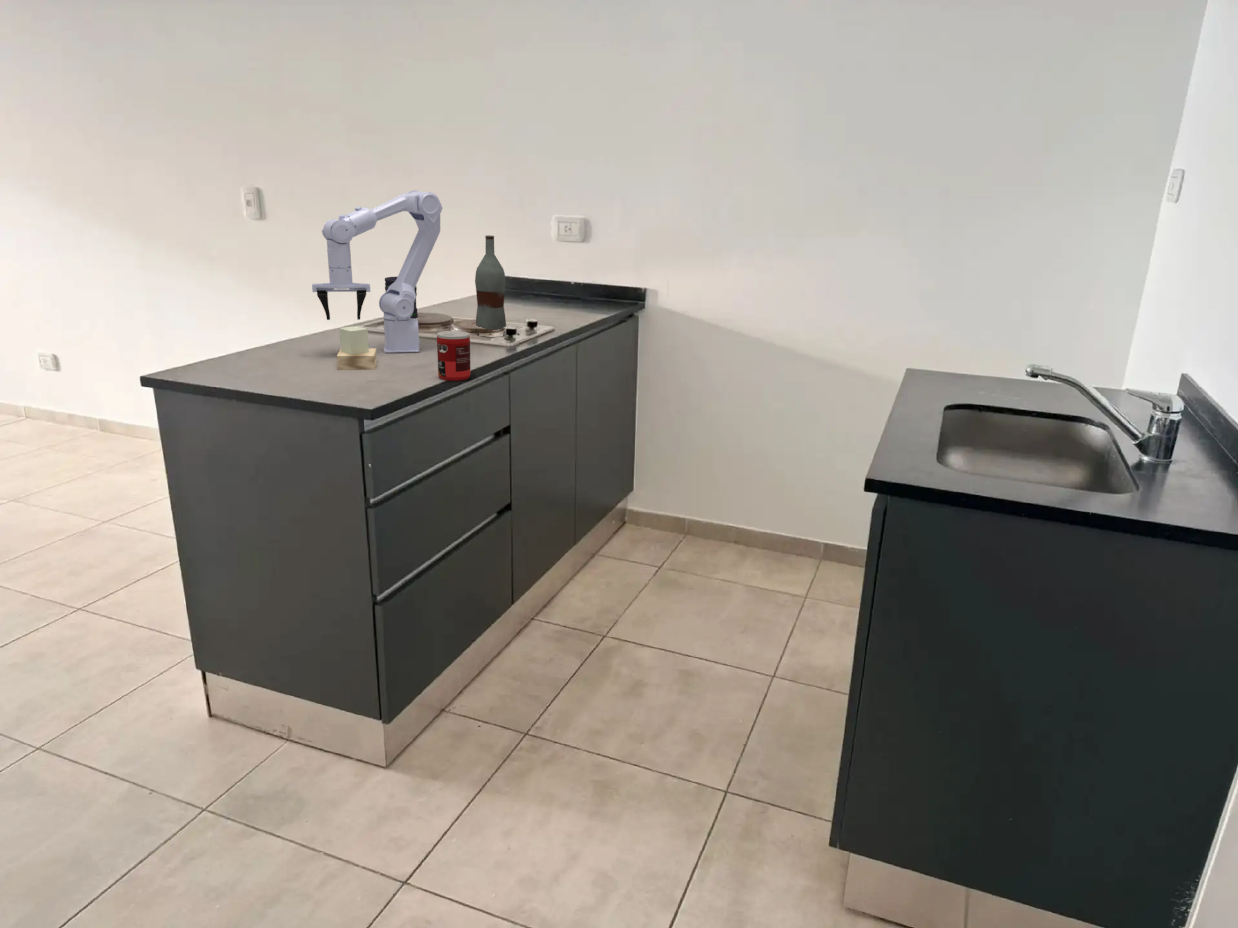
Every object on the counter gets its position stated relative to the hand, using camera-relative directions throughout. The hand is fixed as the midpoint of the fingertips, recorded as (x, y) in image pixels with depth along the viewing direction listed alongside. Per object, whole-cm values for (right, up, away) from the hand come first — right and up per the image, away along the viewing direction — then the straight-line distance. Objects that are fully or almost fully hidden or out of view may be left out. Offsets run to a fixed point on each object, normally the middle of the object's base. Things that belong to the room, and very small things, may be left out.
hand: (343, 319), depth 225 cm
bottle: (+33, +2, +38) cm, 51 cm away
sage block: (+5, -10, -8) cm, 14 cm away
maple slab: (+6, -14, -7) cm, 16 cm away
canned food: (+32, -17, -15) cm, 40 cm away
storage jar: (+3, +6, +48) cm, 48 cm away
